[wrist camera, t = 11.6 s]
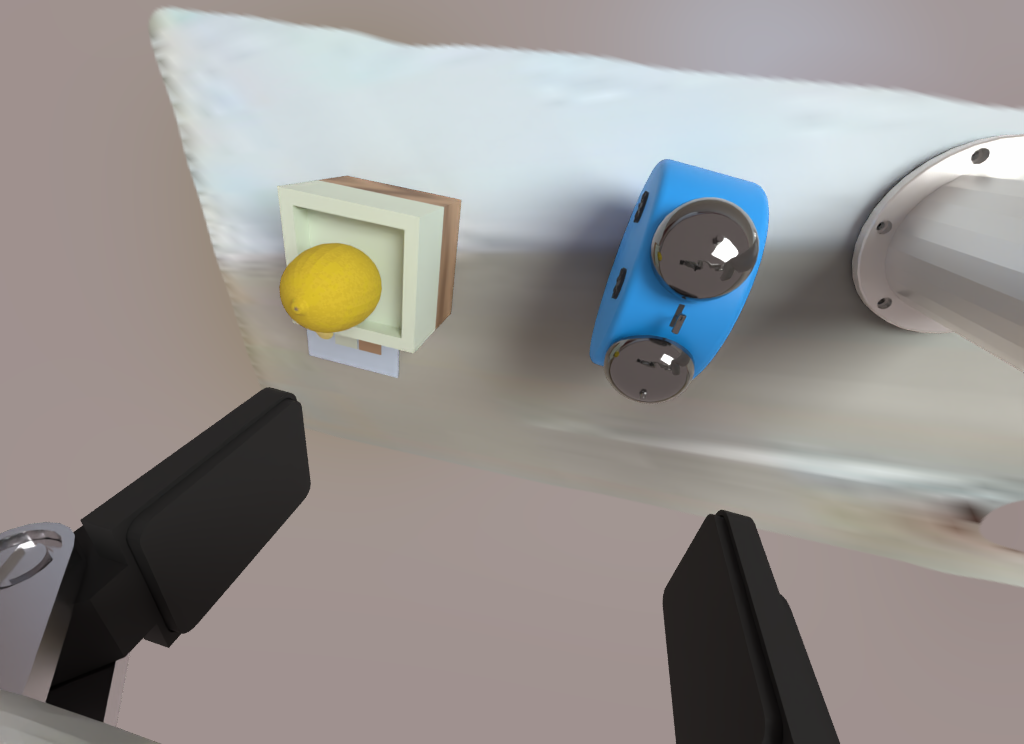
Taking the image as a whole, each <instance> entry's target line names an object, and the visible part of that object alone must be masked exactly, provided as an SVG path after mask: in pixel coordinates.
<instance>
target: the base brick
mask: <svg viewBox="0 0 1024 744" xmlns="http://www.w3.org/2000/svg"><path fill="white" fill-rule="evenodd" d="M319 181H324V182H329V183H334V184H338V185H343V186H348V187H352V188H357V189H362V190H367V191H371V192H376V193H381V194H385V195H390V196H395V197H400V198H404V199H409V200H414V201H418V202H423V203H428V204H432V205H437V206H442V207H444V216H443V230H442V244H441V257H440V271H439V285H438V298H437V312H436V326H435V330H436V329H437V328H438V327H439V325H440V324H441V323H442V322H443V321H444V320H445V319H446V318H447V317H448V316H449V315H450V314H451V307H452V296H453V285H454V274H455V263H456V252H457V241H458V230H459V219H460V209H461V200H460V199H455V198H450V197H445V196H441V195H436V194H431V193H426V192H421V191H417V190H412V189H407V188H402V187H398V186H393V185H388V184H383V183H379V182H374V181H369V180H364V179H359V178H355V177H350V176H342V177H336V178H329V179H323V180H319Z"/></svg>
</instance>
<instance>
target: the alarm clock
mask: <svg viewBox="0 0 1024 744" xmlns="http://www.w3.org/2000/svg"><path fill="white" fill-rule="evenodd" d="M768 222H769V208H768V200H767V196H766V194H765V192H764V191H763V189H762V188H761V187H760V186H759V185H757V184H755V183H753V182H749V181H746V180H742V179H739V178H735V177H731V176H728V175H724V174H721V173H717V172H713V171H710V170H706V169H703V168H699V167H695V166H692V165H688V164H685V163H681V162H677V161H674V160H670V159H665V160H662V161H660V162H659V163H658V164H657V165H656V166H655V168H654V169H653V171H652V173H651V174H650V176H649V178H648V180H647V182H646V184H645V186H644V188H643V190H642V192H641V195H640V197H639V199H638V201H637V204H636V206H635V208H634V211H633V213H632V216H631V218H630V220H629V223H628V226H627V228H626V231H625V233H624V236H623V239H622V241H621V244H620V247H619V249H618V252H617V255H616V258H615V261H614V264H613V266H612V269H611V272H610V275H609V278H608V281H607V284H606V288H605V291H604V294H603V297H602V301H601V304H600V307H599V311H598V314H597V318H596V322H595V326H594V330H593V334H592V339H591V345H590V358H591V360H592V362H593V363H595V364H598V365H601V366H604V372H605V375H606V378H607V380H608V381H609V383H610V385H611V386H612V387H613V388H614V389H615V390H616V391H617V392H618V393H619V394H621V395H622V396H624V397H626V398H628V399H630V400H633V401H636V402H640V403H648V404H655V403H663V402H666V401H669V400H672V399H674V398H676V397H678V396H679V395H680V394H682V393H683V392H684V391H685V390H686V389H687V388H688V386H689V385H690V383H691V382H692V379H694V378H695V377H696V376H697V375H698V374H699V373H701V372H702V371H703V370H704V368H705V367H706V366H707V365H708V364H709V363H710V361H711V360H712V359H713V358H714V356H715V355H716V354H717V352H718V351H719V349H720V348H721V346H722V345H723V343H724V342H725V340H726V338H727V337H728V335H729V333H730V332H731V330H732V328H733V326H734V324H735V322H736V321H737V319H738V317H739V315H740V313H741V311H742V309H743V306H744V304H745V302H746V300H747V297H748V295H749V293H750V290H751V288H752V285H753V282H754V280H755V277H756V274H757V271H758V268H759V265H760V262H761V258H762V255H763V251H764V247H765V242H766V237H767V231H768Z"/></svg>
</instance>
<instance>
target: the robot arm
mask: <svg viewBox="0 0 1024 744" xmlns="http://www.w3.org/2000/svg"><path fill="white" fill-rule="evenodd" d="M973 153H974V156H973V157H972V155H973ZM971 157H972V158H971ZM880 223H881V226H880V227H879V228H877V226H878V225H879V224H880ZM876 228H877V229H876ZM852 275H853V281H854V284H855V287H856V291H857V293H858V294H859V296H860V298H861V299H862V301H863V302H864V304H865V305H866V306H867V307H868V308H869V309H870V310H871V311H873V312H874V313H875V314H876V315H877V316H879V317H881V318H882V319H884V320H885V321H887V322H888V323H891V324H893V325H895V326H898V327H900V328H902V329H906V330H911V331H916V332H920V333H950V332H955V333H956V334H958V335H960V336H962V337H963V338H965V339H967V340H968V341H970V342H972V343H974V344H975V345H977V346H979V347H980V348H982V349H984V350H986V351H987V352H989V353H991V354H992V355H994V356H996V357H998V358H999V359H1001V360H1003V361H1004V362H1006V363H1008V364H1010V365H1011V366H1013V367H1015V368H1016V369H1018V370H1020V371H1022V372H1023V373H1024V134H1019V135H1000V136H995V137H990V138H985V139H980V140H976V141H973V142H970V143H967V144H964V145H961V146H958V147H956V148H953V149H951V150H949V151H947V152H945V153H943V154H941V155H939V156H937V157H935V158H933V159H931V160H929V161H927V162H926V163H924V164H923V165H921V166H920V167H918V168H917V169H915V170H914V171H913V172H911V173H910V174H908V175H907V176H906V177H904V178H903V179H902V180H901V181H900V182H899V183H898V184H897V185H896V186H894V187H893V188H892V189H891V190H890V191H889V192H888V193H887V194H886V195H885V196H884V198H883V199H882V200H881V201H880V202H879V203H878V205H877V206H876V207H875V208H874V209H873V211H872V213H871V214H870V216H869V217H868V219H867V221H866V222H865V224H864V225H863V227H862V230H861V232H860V234H859V237H858V239H857V242H856V244H855V249H854V254H853V259H852ZM878 301H879V302H878ZM310 484H311V483H310V474H309V466H308V457H307V449H306V440H305V431H304V423H303V414H302V406H301V404H300V402H298V401H297V399H296V396H295V395H294V394H292V393H289V392H285V391H281V390H278V389H274V388H270V387H269V388H265V389H263V390H261V391H260V392H258V393H257V394H255V395H254V396H253V397H251V398H250V399H249V400H247V401H246V402H244V403H243V404H241V405H240V406H239V407H237V408H236V409H235V410H233V411H232V412H230V413H229V414H228V415H226V416H225V417H224V418H222V419H221V420H219V421H218V422H216V423H215V424H214V425H212V426H211V427H210V428H208V429H207V430H205V431H204V432H202V433H201V434H200V435H198V436H197V437H196V438H194V439H193V440H191V441H190V442H189V443H187V444H186V445H184V446H183V447H182V448H180V449H179V450H177V451H176V452H175V453H173V454H172V455H171V456H169V457H168V458H166V459H165V460H163V461H162V462H161V463H159V464H158V465H156V466H155V467H154V468H152V469H151V470H150V471H148V472H147V473H145V474H144V475H143V476H141V477H140V478H139V479H137V480H136V481H134V482H133V483H131V484H130V485H129V486H127V487H126V488H124V489H123V490H122V491H120V492H119V493H117V494H116V495H115V496H113V497H112V498H111V499H109V500H108V501H106V502H105V503H104V504H102V505H101V506H99V507H98V508H97V509H95V510H94V511H93V512H91V513H90V514H88V515H87V516H85V517H84V518H83V519H81V522H82V524H83V526H82V527H80V528H79V529H77V530H76V531H75V532H72V530H71V529H70V528H69V527H67V526H65V525H63V524H60V523H50V522H43V523H34V524H28V525H24V526H21V527H17V528H14V529H10V530H7V531H5V532H3V533H1V534H0V744H160V743H157V742H155V741H152V740H149V739H146V738H144V737H141V736H138V735H136V734H133V733H130V732H128V731H125V730H122V729H119V728H117V727H116V725H117V720H118V714H119V709H120V704H121V699H122V693H123V688H124V683H125V677H126V672H127V666H128V661H129V656H130V651H131V650H132V649H133V648H134V647H135V646H136V645H137V644H138V643H139V642H140V641H141V640H142V639H143V638H144V639H145V640H148V641H151V642H154V643H157V644H160V645H162V646H165V647H168V648H169V647H170V646H171V645H172V643H173V642H174V641H175V640H176V639H177V638H178V637H179V636H180V634H181V633H182V634H184V633H187V632H189V631H190V630H191V629H193V628H194V627H195V626H196V625H197V624H198V623H199V621H200V620H201V619H202V618H203V616H205V614H206V613H207V612H208V611H209V610H210V609H211V607H212V606H213V605H214V604H215V603H216V602H217V600H218V599H219V598H220V597H221V596H222V595H223V593H224V592H225V591H226V590H227V589H228V588H229V587H230V585H231V584H232V583H233V582H234V581H235V579H236V578H237V577H238V576H239V575H240V574H241V573H242V571H243V570H244V569H245V568H246V567H247V566H248V564H249V563H250V562H251V561H252V560H253V559H254V557H255V556H256V555H257V554H258V552H260V550H261V549H262V548H263V547H264V546H265V544H266V543H267V542H268V541H269V540H270V539H271V538H272V536H273V535H274V534H275V533H276V532H277V531H278V529H279V528H280V527H281V526H282V525H283V524H284V522H285V521H286V520H287V519H288V518H289V517H290V515H291V514H292V513H293V512H294V511H295V510H296V508H297V507H298V506H299V505H300V504H301V502H302V501H303V500H304V499H305V498H306V496H307V494H308V492H309V490H310ZM663 613H664V624H665V634H666V644H667V654H668V665H669V674H670V685H671V694H672V705H673V716H674V726H675V736H676V744H840V742H839V739H838V737H837V734H836V731H835V729H834V726H833V723H832V720H831V718H830V715H829V712H828V709H827V707H826V704H825V701H824V698H823V696H822V693H821V691H820V688H819V685H818V682H817V679H816V677H815V674H814V671H813V668H812V666H811V663H810V660H809V658H808V655H807V652H806V649H805V647H804V644H803V641H802V639H801V636H800V633H799V630H798V627H797V625H796V622H795V619H794V617H793V614H792V611H791V609H790V607H789V605H788V603H787V601H786V599H785V598H784V597H783V596H782V595H781V594H780V593H779V591H778V588H777V585H776V582H775V579H774V577H773V574H772V571H771V568H770V566H769V562H768V560H767V557H766V554H765V551H764V549H763V546H762V543H761V540H760V537H759V534H758V531H757V529H756V526H755V523H754V521H753V520H752V519H751V518H750V517H747V516H743V515H740V514H736V513H732V512H729V511H725V510H720V511H718V512H717V513H716V515H713V514H709V515H708V516H707V517H706V519H705V520H704V522H703V524H702V525H701V527H700V529H699V531H698V532H697V534H696V536H695V538H694V539H693V541H692V543H691V544H690V546H689V548H688V550H687V551H686V553H685V555H684V557H683V558H682V560H681V562H680V563H679V565H678V567H677V569H676V570H675V572H674V574H673V576H672V577H671V579H670V581H669V583H668V584H667V586H666V588H665V590H664V594H663Z"/></svg>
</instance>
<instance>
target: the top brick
mask: <svg viewBox="0 0 1024 744" xmlns="http://www.w3.org/2000/svg"><path fill="white" fill-rule="evenodd" d="M277 188H278V197H279V206H280V214H281V223H282V232H283V240H284V249H285V258H286V266H288V265H289V263H290V262H292V261H293V260H294V259H295V258H296V257H297V256H298V255H299V254H301V253H302V252H304V251H305V250H307V249H310V248H312V247H314V246H317V245H320V244H327V243H341V244H346V245H350V246H353V247H355V248H357V249H359V250H361V251H362V252H364V253H365V254H366V255H367V256H369V258H370V259H371V260H372V261H373V262H374V263H375V265H376V267H377V269H378V271H379V274H380V277H381V284H382V291H381V297H380V300H379V302H378V304H377V306H376V308H375V310H374V311H373V312H372V313H371V314H370V315H369V316H368V317H367V318H366V319H365V320H364V321H363V322H361V323H360V324H358V325H356V326H354V327H352V328H350V329H347V330H344V331H340V332H333V333H335V334H339V335H343V336H346V337H350V338H354V339H358V340H362V341H366V342H370V343H374V344H378V345H382V346H386V347H390V348H394V349H398V350H402V351H406V352H410V353H414V352H415V351H416V350H417V349H418V348H419V347H420V346H421V345H422V344H423V343H424V342H425V341H426V339H427V338H428V337H429V336H430V335H431V334H432V333H433V332H434V331H435V326H436V312H437V298H438V285H439V271H440V257H441V244H442V230H443V216H444V207H442V206H437V205H432V204H428V203H423V202H418V201H414V200H409V199H404V198H400V197H395V196H390V195H385V194H381V193H376V192H371V191H367V190H362V189H357V188H352V187H348V186H343V185H338V184H334V183H329V182H324V181H319V180H316V181H309V182H303V183H296V184H289V185H283V186H277ZM293 323H295V324H298V323H297V322H296V321H294V320H293ZM299 325H300V324H299Z"/></svg>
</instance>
